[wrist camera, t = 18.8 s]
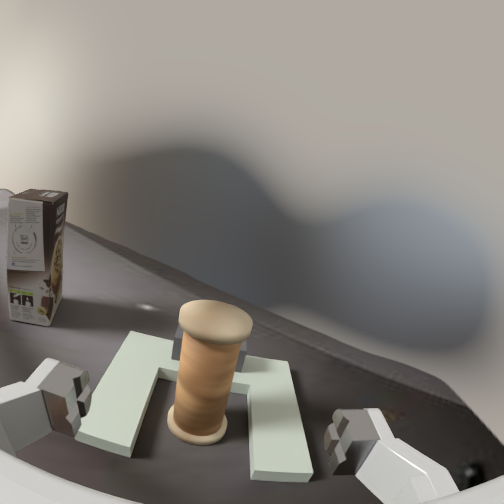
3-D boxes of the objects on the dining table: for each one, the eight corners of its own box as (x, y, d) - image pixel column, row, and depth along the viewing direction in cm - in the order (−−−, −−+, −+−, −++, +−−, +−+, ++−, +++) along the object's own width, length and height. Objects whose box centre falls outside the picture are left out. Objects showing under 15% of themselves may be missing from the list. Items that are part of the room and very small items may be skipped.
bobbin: (226, 410, 30) (251, 307, 27) (225, 449, 25) (254, 340, 22) (172, 400, 30) (185, 294, 27) (162, 438, 24) (173, 325, 21)
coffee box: (51, 327, 35) (53, 201, 31) (9, 320, 32) (6, 196, 28) (63, 297, 43) (70, 191, 39) (27, 292, 40) (30, 186, 37)
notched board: (284, 371, 40) (294, 341, 39) (307, 482, 22) (326, 451, 21) (130, 340, 38) (132, 309, 37) (75, 439, 20) (68, 404, 19)
